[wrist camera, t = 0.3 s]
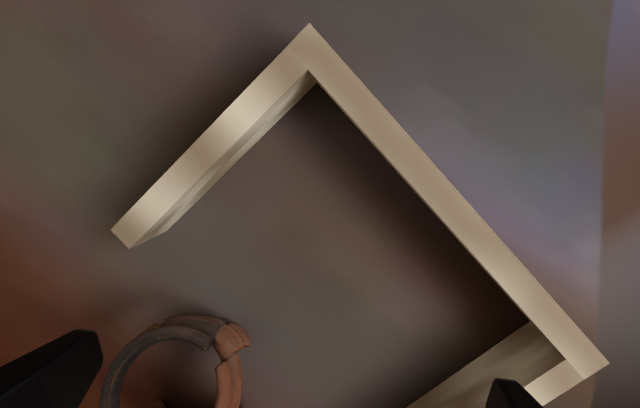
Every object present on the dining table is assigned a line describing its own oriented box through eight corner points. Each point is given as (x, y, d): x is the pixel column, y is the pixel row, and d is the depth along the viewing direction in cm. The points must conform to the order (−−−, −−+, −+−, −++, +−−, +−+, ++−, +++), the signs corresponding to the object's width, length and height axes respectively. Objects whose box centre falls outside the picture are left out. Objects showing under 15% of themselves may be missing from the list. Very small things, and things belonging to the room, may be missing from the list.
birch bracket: (377, 452, 25) (380, 509, 21) (150, 215, 24) (110, 229, 20) (565, 324, 22) (609, 363, 18) (318, 45, 21) (309, 23, 17)
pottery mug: (124, 385, 27) (46, 405, 20) (214, 290, 30) (176, 275, 22) (233, 513, 24) (192, 596, 17) (323, 397, 27) (323, 422, 19)
